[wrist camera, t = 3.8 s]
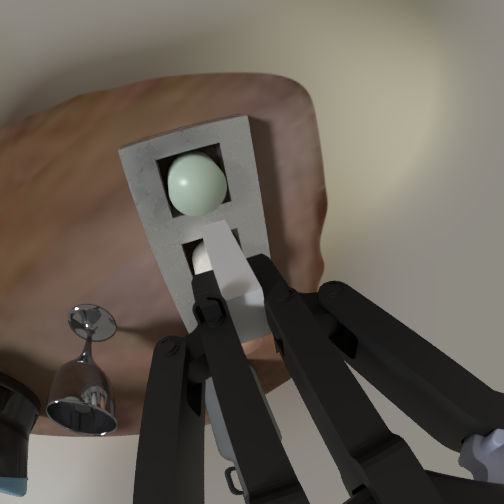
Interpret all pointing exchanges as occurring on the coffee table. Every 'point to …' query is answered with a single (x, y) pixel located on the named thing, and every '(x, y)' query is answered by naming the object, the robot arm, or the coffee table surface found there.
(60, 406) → the wine glass
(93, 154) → the coffee table surface
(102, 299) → the coffee table surface
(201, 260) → the white egg
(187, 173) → the pale green rounded egg
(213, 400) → the water bottle
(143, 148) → the panel
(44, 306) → the coffee table surface
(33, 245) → the coffee table surface
